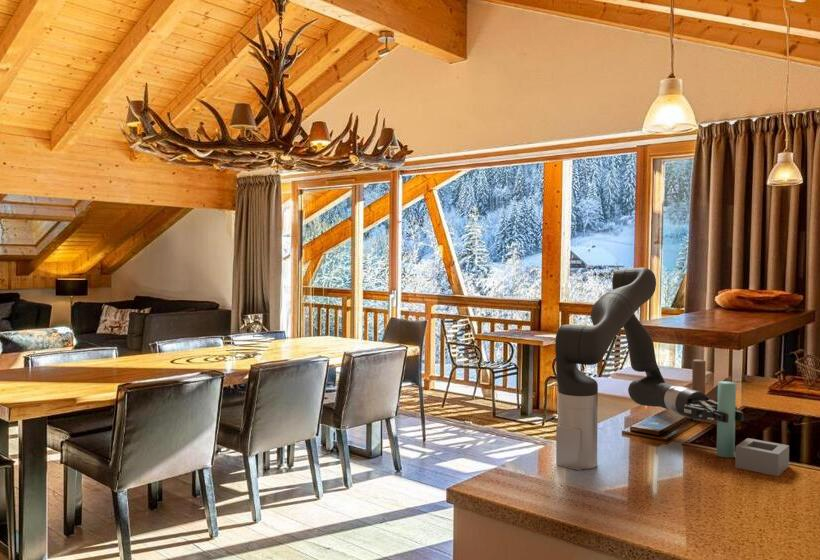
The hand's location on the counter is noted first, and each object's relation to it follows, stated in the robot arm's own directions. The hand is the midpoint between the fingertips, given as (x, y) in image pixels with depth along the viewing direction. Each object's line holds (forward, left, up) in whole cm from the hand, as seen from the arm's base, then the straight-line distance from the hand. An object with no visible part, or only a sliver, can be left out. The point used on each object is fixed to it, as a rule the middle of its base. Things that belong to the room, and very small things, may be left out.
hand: (734, 417), depth 158 cm
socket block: (-2, -7, -10) cm, 12 cm away
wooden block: (+31, +16, -10) cm, 37 cm away
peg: (+1, +2, -10) cm, 10 cm away
